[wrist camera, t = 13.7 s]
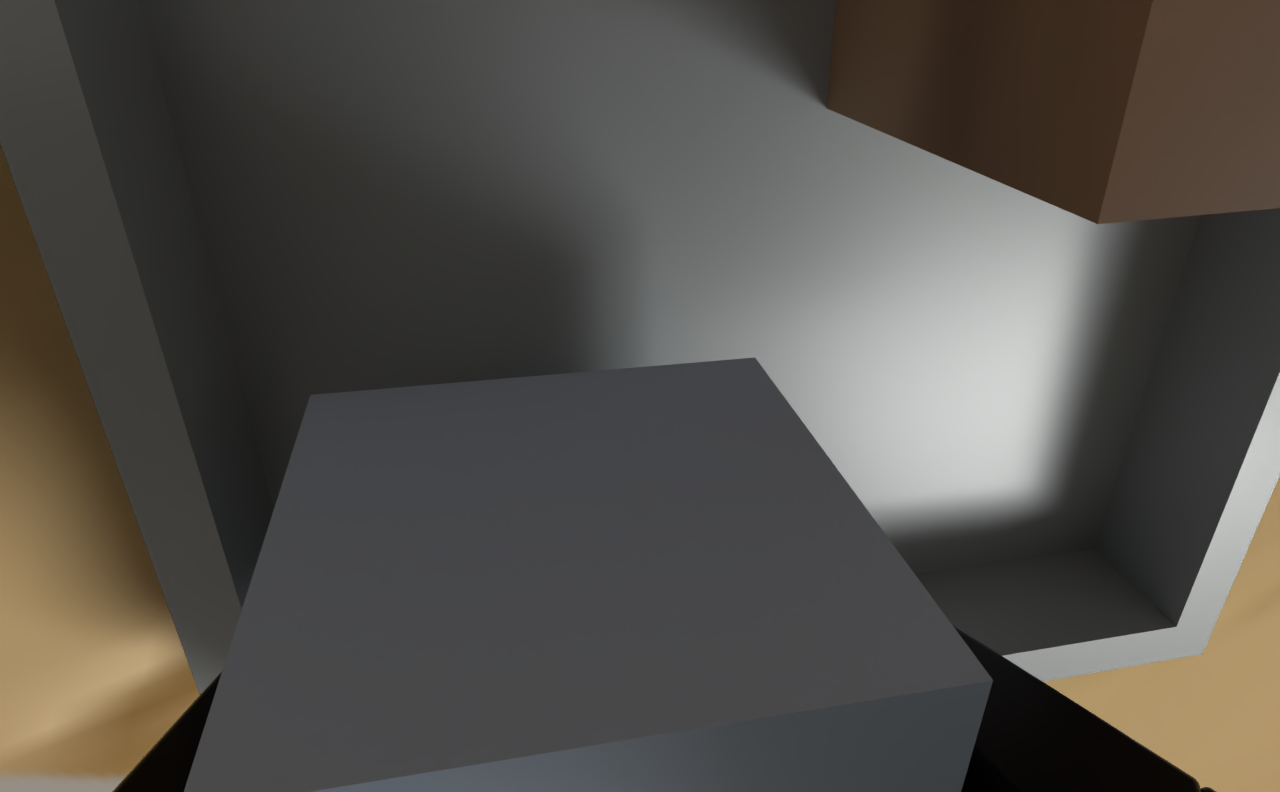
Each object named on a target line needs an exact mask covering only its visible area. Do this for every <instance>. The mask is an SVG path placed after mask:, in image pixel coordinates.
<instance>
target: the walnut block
mask: <svg viewBox="0 0 1280 792" xmlns="http://www.w3.org/2000/svg"><path fill="white" fill-rule="evenodd" d="M827 109H829V110H831V111H834V112H836V113H838V114H841V115H843V116H845V117H848V118H850V119H852V120H855V121H857V122H859V123H862V124H864V125H866V126H869V127H871V128H874V129H876V130H878V131H881V132H883V133H885V134H888V135H890V136H892V137H895V138H897V139H899V140H902V141H904V142H906V143H909V144H911V145H913V146H916V147H918V148H920V149H923V150H925V151H927V152H930V153H932V154H934V155H937V156H939V157H941V158H944V159H946V160H948V161H951V162H953V163H955V164H958V165H960V166H962V167H965V168H967V169H970V170H972V171H974V172H977V173H979V174H981V175H984V176H986V177H988V178H991V179H993V180H995V181H998V182H1000V183H1002V184H1005V185H1007V186H1009V187H1012V188H1014V189H1016V190H1019V191H1021V192H1023V193H1026V194H1028V195H1030V196H1033V197H1035V198H1037V199H1040V200H1042V201H1044V202H1047V203H1049V204H1051V205H1054V206H1056V207H1058V208H1061V209H1063V210H1066V211H1068V212H1070V213H1073V214H1075V215H1077V216H1080V217H1082V218H1084V219H1087V220H1089V221H1091V222H1094V223H1096V224H1106V223H1117V222H1128V221H1139V220H1151V219H1162V218H1173V217H1184V216H1196V215H1207V214H1218V213H1229V212H1241V211H1252V210H1263V209H1274V208H1280V0H836V4H835V17H834V29H833V41H832V53H831V65H830V78H829V90H828V102H827Z"/></svg>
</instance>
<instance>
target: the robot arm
mask: <svg viewBox="0 0 1280 792" xmlns="http://www.w3.org/2000/svg"><path fill="white" fill-rule="evenodd" d="M953 627H954V628H955V629H956V631H957V632H958V633H959V635H960V636H961V637H962V639H963V640H964V641H965V643H966V644H967V646H968V647H969V648H970V650H971V651H972V652H973V654H974V655H975V656H976V658H977V659H978V660H979V662H980V663H981V665H982V666H983V667H984V669H985V670H986V671H987V673H988V674H989V675H990V677H991V678H992V679H993V682H992V686H991V689H990V693H989V696H988V700H987V703H986V707H985V710H984V714H983V717H982V721H981V724H980V728H979V731H978V735H977V738H976V741H975V745H974V748H973V752H972V755H971V759H970V762H969V766H968V769H967V773H966V776H965V780H964V783H963V787H962V790H961V792H1216V791H1214V790H1213V789H1211V788H1209V787H1204V788H1200V785H1199V783H1198V781H1197V780H1196V779H1195V778H1193V777H1192V776H1190V775H1189V774H1187V773H1185V772H1184V771H1182V770H1181V769H1179V768H1177V767H1176V766H1174V765H1173V764H1171V763H1170V762H1168V761H1166V760H1165V759H1163V758H1162V757H1160V756H1159V755H1157V754H1155V753H1154V752H1152V751H1151V750H1149V749H1148V748H1146V747H1144V746H1143V745H1141V744H1140V743H1138V742H1137V741H1135V740H1133V739H1132V738H1130V737H1129V736H1127V735H1126V734H1124V733H1122V732H1121V731H1119V730H1118V729H1116V728H1115V727H1113V726H1111V725H1110V724H1108V723H1107V722H1105V721H1104V720H1102V719H1100V718H1099V717H1097V716H1096V715H1094V714H1093V713H1091V712H1089V711H1088V710H1086V709H1085V708H1083V707H1082V706H1080V705H1078V704H1077V703H1075V702H1074V701H1072V700H1070V699H1069V698H1067V697H1066V696H1064V695H1063V694H1061V693H1059V692H1058V691H1056V690H1055V689H1053V688H1052V687H1050V686H1048V685H1047V684H1045V683H1044V682H1042V681H1041V680H1039V679H1037V678H1036V677H1034V676H1033V675H1031V674H1030V673H1028V672H1026V671H1025V670H1023V669H1022V668H1020V667H1019V666H1017V665H1015V664H1014V663H1012V662H1011V661H1009V660H1008V659H1006V658H1004V657H1003V656H1001V655H1000V654H998V653H997V652H995V651H993V650H992V649H990V648H989V647H987V646H986V645H984V644H982V643H981V642H979V641H978V640H976V639H974V638H973V637H971V636H970V635H968V634H967V633H965V632H963V631H962V630H960V629H959V628H957V627H956V626H954V625H953ZM221 674H222V671H221V673H220V674H219V675H218V676H217V677H216V678H215V679H214V680H213V681H212V683H211V684H210V685H209V686H208V687H207V688H206V689H205V690H204V691H203V692H202V694H201V695H200V696H199V697H198V698H197V699H196V700H195V701H194V702H193V703H192V705H191V706H190V707H189V708H188V709H187V710H186V711H185V712H184V713H183V714H182V716H181V717H180V718H179V719H178V720H177V721H176V722H175V723H174V724H173V726H172V727H171V728H170V729H169V730H168V731H167V732H166V733H165V734H164V735H163V737H162V738H161V739H160V740H159V741H158V742H157V743H156V744H155V745H154V746H153V748H152V749H151V750H150V751H149V752H148V753H147V754H146V755H145V756H144V757H143V759H142V760H141V761H140V762H139V763H138V764H137V765H136V766H135V767H134V769H133V770H132V771H131V772H130V773H129V774H128V775H127V776H126V777H125V778H124V780H123V781H122V782H121V783H120V784H119V785H118V786H117V787H116V788H115V790H114V791H113V792H184V789H185V786H186V783H187V780H188V777H189V774H190V771H191V768H192V764H193V761H194V758H195V755H196V752H197V749H198V746H199V742H200V739H201V736H202V733H203V730H204V727H205V724H206V721H207V717H208V714H209V711H210V708H211V705H212V702H213V699H214V695H215V692H216V689H217V686H218V683H219V680H220V677H221Z"/></svg>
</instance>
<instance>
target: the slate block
mask: <svg viewBox="0 0 1280 792" xmlns="http://www.w3.org/2000/svg"><path fill="white" fill-rule="evenodd" d="M992 682H993V679H992V678H991V677H990V675H989V674H988V673H987V671H986V670H985V669H984V667H983V666H982V665H981V663H980V662H979V660H978V659H977V658H976V656H975V655H974V654H973V652H972V651H971V650H970V648H969V647H968V646H967V644H966V643H965V641H964V640H963V639H962V637H961V636H960V635H959V633H958V632H957V631H956V629H955V628H954V627H953V625H952V624H951V623H950V621H949V620H948V618H947V617H946V616H945V614H944V613H943V612H942V610H941V609H940V608H939V606H938V605H937V604H936V602H935V601H934V599H933V598H932V597H931V595H930V594H929V593H928V591H927V590H926V589H925V587H924V586H923V585H922V583H921V582H920V580H919V579H918V578H917V576H916V575H915V574H914V572H913V571H912V570H911V568H910V567H909V566H908V564H907V563H906V561H905V560H904V559H903V557H902V556H901V555H900V553H899V552H898V551H897V549H896V548H895V547H894V545H893V544H892V542H891V541H890V540H889V538H888V537H887V536H886V534H885V533H884V532H883V530H882V529H881V528H880V526H879V525H878V523H877V522H876V521H875V519H874V518H873V517H872V515H871V514H870V513H869V511H868V510H867V509H866V507H865V506H864V504H863V503H862V502H861V500H860V499H859V498H858V496H857V495H856V494H855V492H854V491H853V490H852V488H851V487H850V485H849V484H848V483H847V481H846V480H845V479H844V477H843V476H842V475H841V473H840V472H839V471H838V469H837V468H836V466H835V465H834V464H833V462H832V461H831V460H830V458H829V457H828V456H827V454H826V453H825V452H824V450H823V449H822V447H821V446H820V445H819V443H818V442H817V441H816V439H815V438H814V437H813V435H812V434H811V433H810V431H809V430H808V428H807V427H806V426H805V424H804V423H803V422H802V420H801V419H800V418H799V416H798V415H797V414H796V412H795V411H794V410H793V408H792V407H791V405H790V404H789V403H788V401H787V400H786V399H785V397H784V396H783V395H782V393H781V392H780V391H779V389H778V388H777V386H776V385H775V384H774V382H773V381H772V380H771V378H770V377H769V376H768V374H767V373H766V372H765V370H764V369H763V367H762V366H761V365H760V363H759V362H758V361H757V359H756V358H755V357H754V358H743V359H731V360H719V361H707V362H695V363H683V364H671V365H660V366H648V367H636V368H624V369H612V370H600V371H588V372H576V373H565V374H553V375H541V376H529V377H517V378H505V379H493V380H481V381H470V382H458V383H446V384H434V385H422V386H410V387H398V388H387V389H375V390H363V391H351V392H339V393H327V394H315V395H310V398H309V401H308V404H307V407H306V410H305V413H304V417H303V420H302V423H301V426H300V429H299V432H298V435H297V439H296V442H295V445H294V448H293V451H292V454H291V457H290V460H289V464H288V467H287V470H286V473H285V476H284V479H283V482H282V486H281V489H280V492H279V495H278V498H277V501H276V504H275V507H274V511H273V514H272V517H271V520H270V523H269V526H268V529H267V533H266V536H265V539H264V542H263V545H262V548H261V551H260V554H259V558H258V561H257V564H256V567H255V570H254V573H253V576H252V580H251V583H250V586H249V589H248V592H247V595H246V598H245V601H244V605H243V608H242V611H241V614H240V617H239V620H238V623H237V627H236V630H235V633H234V636H233V639H232V642H231V645H230V648H229V652H228V655H227V658H226V661H225V664H224V667H223V670H222V674H221V677H220V680H219V683H218V686H217V689H216V692H215V695H214V699H213V702H212V705H211V708H210V711H209V714H208V717H207V721H206V724H205V727H204V730H203V733H202V736H201V739H200V742H199V746H198V749H197V752H196V755H195V758H194V761H193V764H192V768H191V771H190V774H189V777H188V780H187V783H186V786H185V789H184V792H961V790H962V787H963V783H964V780H965V776H966V773H967V769H968V766H969V762H970V759H971V755H972V752H973V748H974V745H975V741H976V738H977V735H978V731H979V728H980V724H981V721H982V717H983V714H984V710H985V707H986V703H987V700H988V696H989V693H990V689H991V686H992Z"/></svg>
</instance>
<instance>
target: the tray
mask: <svg viewBox="0 0 1280 792" xmlns="http://www.w3.org/2000/svg"><path fill="white" fill-rule="evenodd" d="M835 4H836V0H0V145H1V147H2V150H3V153H4V156H5V158H6V161H7V164H8V167H9V169H10V172H11V175H12V178H13V180H14V183H15V186H16V189H17V192H18V194H19V197H20V200H21V203H22V205H23V208H24V211H25V214H26V216H27V219H28V222H29V225H30V227H31V230H32V233H33V236H34V238H35V241H36V244H37V247H38V249H39V252H40V255H41V258H42V260H43V263H44V266H45V269H46V272H47V274H48V277H49V280H50V283H51V285H52V288H53V291H54V294H55V296H56V299H57V302H58V305H59V307H60V310H61V313H62V316H63V318H64V321H65V324H66V327H67V329H68V332H69V335H70V338H71V340H72V343H73V346H74V349H75V351H76V354H77V357H78V360H79V363H80V365H81V368H82V371H83V374H84V376H85V379H86V382H87V385H88V387H89V390H90V393H91V396H92V398H93V401H94V404H95V407H96V409H97V412H98V415H99V418H100V420H101V423H102V426H103V429H104V431H105V434H106V437H107V440H108V443H109V445H110V448H111V451H112V454H113V456H114V459H115V462H116V465H117V467H118V470H119V473H120V476H121V478H122V481H123V484H124V487H125V489H126V492H127V495H128V498H129V500H130V503H131V506H132V509H133V511H134V514H135V517H136V520H137V523H138V525H139V528H140V531H141V534H142V536H143V539H144V542H145V545H146V547H147V550H148V553H149V556H150V558H151V561H152V564H153V567H154V569H155V572H156V575H157V578H158V580H159V583H160V586H161V589H162V591H163V594H164V597H165V600H166V603H167V605H168V608H169V611H170V614H171V616H172V619H173V622H174V625H175V627H176V630H177V633H178V636H179V638H180V641H181V644H182V647H183V649H184V652H185V655H186V658H187V660H188V663H189V666H190V669H191V671H192V674H193V677H194V680H195V682H196V685H197V688H198V691H199V694H200V695H201V694H202V692H203V691H204V690H205V689H206V688H207V687H208V686H209V685H210V684H211V683H212V681H213V680H214V679H215V678H216V677H217V676H218V675H219V674H220V673H221V671H222V670H223V667H224V664H225V661H226V658H227V655H228V652H229V648H230V645H231V642H232V639H233V636H234V633H235V630H236V627H237V623H238V620H239V617H240V614H241V611H242V608H243V605H244V601H245V598H246V595H247V592H248V589H249V586H250V583H251V580H252V576H253V573H254V570H255V567H256V564H257V561H258V558H259V554H260V551H261V548H262V545H263V542H264V539H265V536H266V533H267V529H268V526H269V523H270V520H271V517H272V514H273V511H274V507H275V504H276V501H277V498H278V495H279V492H280V489H281V486H282V482H283V479H284V476H285V473H286V470H287V467H288V464H289V460H290V457H291V454H292V451H293V448H294V445H295V442H296V439H297V435H298V432H299V429H300V426H301V423H302V420H303V417H304V413H305V410H306V407H307V404H308V401H309V398H310V395H315V394H327V393H339V392H351V391H363V390H375V389H387V388H398V387H410V386H422V385H434V384H446V383H458V382H470V381H481V380H493V379H505V378H517V377H529V376H541V375H553V374H565V373H576V372H588V371H600V370H612V369H624V368H636V367H648V366H660V365H671V364H683V363H695V362H707V361H719V360H731V359H743V358H754V357H755V358H756V359H757V361H758V362H759V363H760V365H761V366H762V367H763V369H764V370H765V372H766V373H767V374H768V376H769V377H770V378H771V380H772V381H773V382H774V384H775V385H776V386H777V388H778V389H779V391H780V392H781V393H782V395H783V396H784V397H785V399H786V400H787V401H788V403H789V404H790V405H791V407H792V408H793V410H794V411H795V412H796V414H797V415H798V416H799V418H800V419H801V420H802V422H803V423H804V424H805V426H806V427H807V428H808V430H809V431H810V433H811V434H812V435H813V437H814V438H815V439H816V441H817V442H818V443H819V445H820V446H821V447H822V449H823V450H824V452H825V453H826V454H827V456H828V457H829V458H830V460H831V461H832V462H833V464H834V465H835V466H836V468H837V469H838V471H839V472H840V473H841V475H842V476H843V477H844V479H845V480H846V481H847V483H848V484H849V485H850V487H851V488H852V490H853V491H854V492H855V494H856V495H857V496H858V498H859V499H860V500H861V502H862V503H863V504H864V506H865V507H866V509H867V510H868V511H869V513H870V514H871V515H872V517H873V518H874V519H875V521H876V522H877V523H878V525H879V526H880V528H881V529H882V530H883V532H884V533H885V534H886V536H887V537H888V538H889V540H890V541H891V542H892V544H893V545H894V547H895V548H896V549H897V551H898V552H899V553H900V555H901V556H902V557H903V559H904V560H905V561H906V563H907V564H908V566H909V567H910V568H911V570H912V571H913V572H914V574H915V575H916V576H917V578H918V579H919V580H920V582H921V583H922V585H923V586H924V587H925V589H926V590H927V591H928V593H929V594H930V595H931V597H932V598H933V599H934V601H935V602H936V604H937V605H938V606H939V608H940V609H941V610H942V612H943V613H944V614H945V616H946V617H947V618H948V620H949V621H950V623H951V624H952V625H954V626H956V627H957V628H959V629H960V630H962V631H963V632H965V633H967V634H968V635H970V636H971V637H973V638H974V639H976V640H978V641H979V642H981V643H982V644H984V645H986V646H987V647H989V648H990V649H992V650H993V651H995V652H997V653H998V654H1000V655H1001V656H1003V657H1004V658H1006V659H1008V660H1009V661H1011V662H1012V663H1014V664H1015V665H1017V666H1019V667H1020V668H1022V669H1023V670H1025V671H1026V672H1028V673H1030V674H1031V675H1033V676H1034V677H1036V678H1037V679H1039V680H1041V681H1042V682H1043V681H1049V680H1055V679H1061V678H1066V677H1072V676H1078V675H1084V674H1090V673H1095V672H1101V671H1107V670H1113V669H1118V668H1124V667H1130V666H1136V665H1142V664H1147V663H1153V662H1159V661H1165V660H1171V659H1176V658H1182V657H1188V656H1194V655H1199V654H1202V653H1203V651H1204V649H1205V646H1206V644H1207V642H1208V639H1209V637H1210V635H1211V632H1212V630H1213V628H1214V626H1215V623H1216V621H1217V619H1218V616H1219V614H1220V612H1221V609H1222V607H1223V605H1224V602H1225V600H1226V598H1227V596H1228V593H1229V591H1230V589H1231V586H1232V584H1233V582H1234V579H1235V577H1236V575H1237V573H1238V570H1239V568H1240V566H1241V563H1242V561H1243V559H1244V556H1245V554H1246V552H1247V549H1248V547H1249V545H1250V543H1251V540H1252V538H1253V536H1254V533H1255V531H1256V529H1257V526H1258V524H1259V522H1260V519H1261V517H1262V515H1263V513H1264V510H1265V508H1266V506H1267V503H1268V501H1269V499H1270V496H1271V494H1272V492H1273V490H1274V487H1275V485H1276V483H1277V480H1278V478H1279V476H1280V208H1274V209H1263V210H1252V211H1241V212H1229V213H1218V214H1207V215H1196V216H1184V217H1173V218H1162V219H1151V220H1139V221H1128V222H1117V223H1106V224H1096V223H1094V222H1091V221H1089V220H1087V219H1084V218H1082V217H1080V216H1077V215H1075V214H1073V213H1070V212H1068V211H1066V210H1063V209H1061V208H1058V207H1056V206H1054V205H1051V204H1049V203H1047V202H1044V201H1042V200H1040V199H1037V198H1035V197H1033V196H1030V195H1028V194H1026V193H1023V192H1021V191H1019V190H1016V189H1014V188H1012V187H1009V186H1007V185H1005V184H1002V183H1000V182H998V181H995V180H993V179H991V178H988V177H986V176H984V175H981V174H979V173H977V172H974V171H972V170H970V169H967V168H965V167H962V166H960V165H958V164H955V163H953V162H951V161H948V160H946V159H944V158H941V157H939V156H937V155H934V154H932V153H930V152H927V151H925V150H923V149H920V148H918V147H916V146H913V145H911V144H909V143H906V142H904V141H902V140H899V139H897V138H895V137H892V136H890V135H888V134H885V133H883V132H881V131H878V130H876V129H874V128H871V127H869V126H866V125H864V124H862V123H859V122H857V121H855V120H852V119H850V118H848V117H845V116H843V115H841V114H838V113H836V112H834V111H831V110H829V109H827V102H828V90H829V78H830V65H831V53H832V41H833V29H834V17H835Z"/></svg>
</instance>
